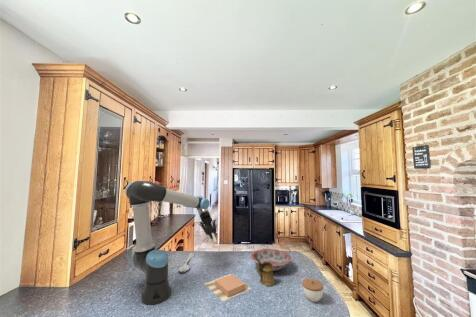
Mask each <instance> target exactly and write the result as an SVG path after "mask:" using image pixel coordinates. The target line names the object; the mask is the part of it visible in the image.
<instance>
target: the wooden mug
mask: <svg viewBox="0 0 476 317" xmlns="http://www.w3.org/2000/svg"><path fill="white" fill-rule="evenodd" d="M253 256H254V257H255V259H256V260H257V261H258V265H257V264H256V271H257V274H258V275H259V277H260V279H259V282H260V284H262V285H264V286H265V287H273V286H274V285H275V277H274V271H273V267H272V264H271V263H270V262H264V263H261V262H260V261H259V260H258V258H257V257H256V256H255V255H254V254H253ZM260 267H261V268H260Z"/></svg>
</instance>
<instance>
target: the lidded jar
mask: <svg viewBox="0 0 476 317" xmlns="http://www.w3.org/2000/svg"><path fill="white" fill-rule="evenodd" d="M301 284H302V291H303V293H304V296H305V297H306V298H307V300H308V301H310V302H312V303H318V302H319V301H320V300H321V299H322V298H323V296H324V284H323V282H321V280H317V279H315V278H305V279H303V280H302V282H301Z"/></svg>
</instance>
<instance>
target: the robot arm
mask: <svg viewBox="0 0 476 317" xmlns="http://www.w3.org/2000/svg"><path fill="white" fill-rule="evenodd" d="M125 196H126V198H127V199H128V202H129V206H131V207H132V210H133V211H132V213H133V221H134V232H135V243H136V246H135V247H134V250H133V251H134V253H133V254H132V260H131V262H132V263H133V265H134V267H136V268H137V269H138V270H140V271H142V272H143V273H145V284H144V288H143V292H142V293H141V302H142V303H143V304H145V305H153V306H154V305H157V304H160V303H163V302H164V301H166V300H168V299H169V298H170V296H171V294H172V290H171V289H172V288H171V286H170V282H169V260H170V259H169V254H168V252H167V251H166V250H164V249H156V244H155V243H154V242H153V240H152V229H151V228H152V227H151V226H152V225H151V219H150V218H151V217H150V207H149V205H150V203H151V202H156V203H162V202H166V203H170V204H175V205H180V206H183V207H186V208H192V209H193V208H194V209H196V210H197V213H198V215H199V218H200V222H199V223H198V224H199V226H200V227H201V229H202V230H203V232H204V233H205V235H207V236H209V238H210V240H211V241H212V243H213V244H217V241H218V240H217V238H216V237H217V235H216V232H217V225H216V219H213V218H212V217H211V213H210V212H209V209H208V208H209V206H210V201H209V198H205V197H204V196H202V195H197V196H196V195H191V194H188V193H184V192H181V191H176V190H172V189H168V188H167V187H166V186H164V185H162V184H158V183H156V182H152V181H148V180H135V181H131V182H130V183H129V184H128V185H127V186H126V188H125Z"/></svg>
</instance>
